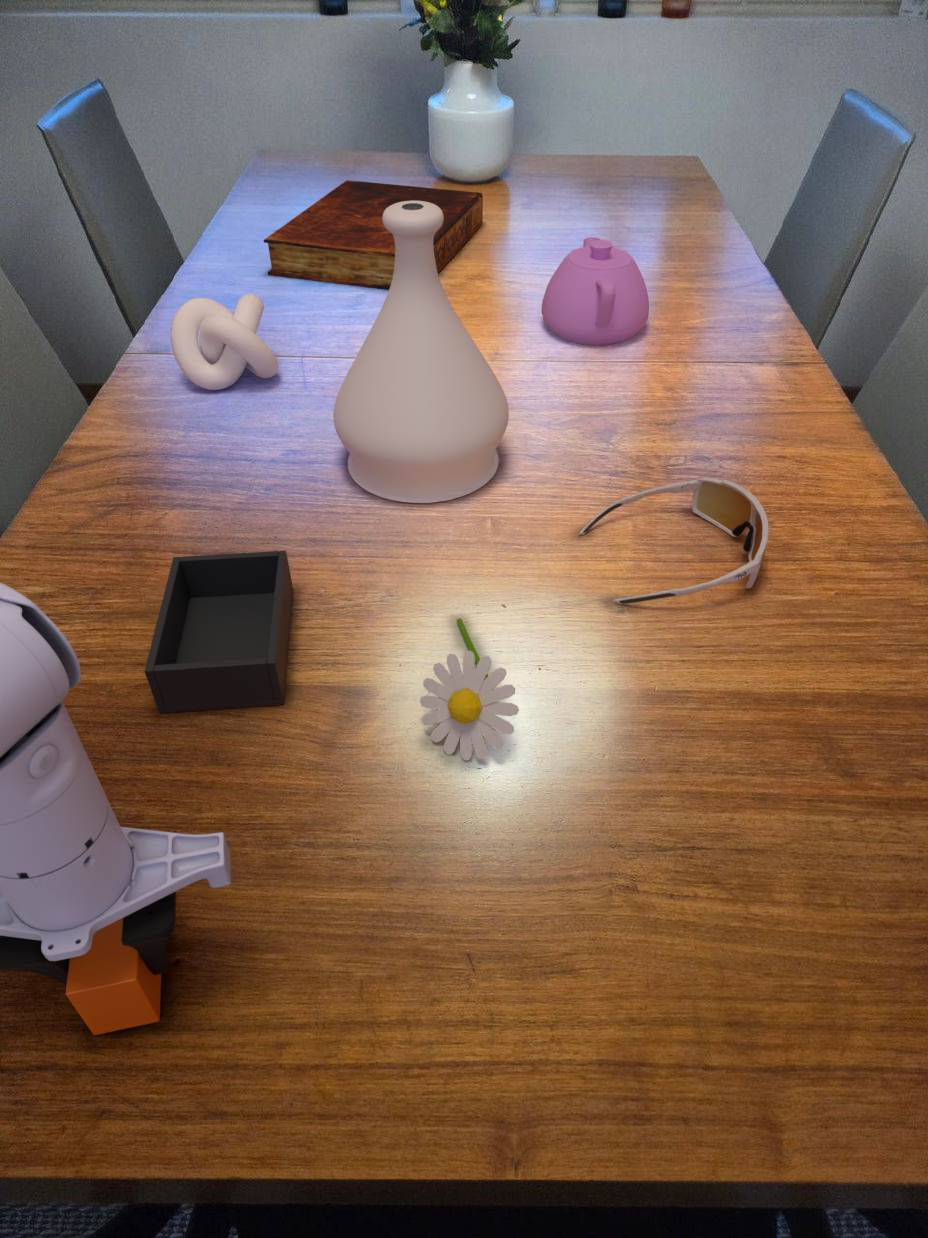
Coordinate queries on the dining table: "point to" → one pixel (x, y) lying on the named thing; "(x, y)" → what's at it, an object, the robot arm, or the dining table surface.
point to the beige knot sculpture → (220, 342)
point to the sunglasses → (723, 509)
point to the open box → (222, 633)
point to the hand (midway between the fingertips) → (122, 965)
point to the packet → (113, 984)
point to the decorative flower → (468, 703)
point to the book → (365, 233)
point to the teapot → (596, 295)
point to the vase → (419, 383)
